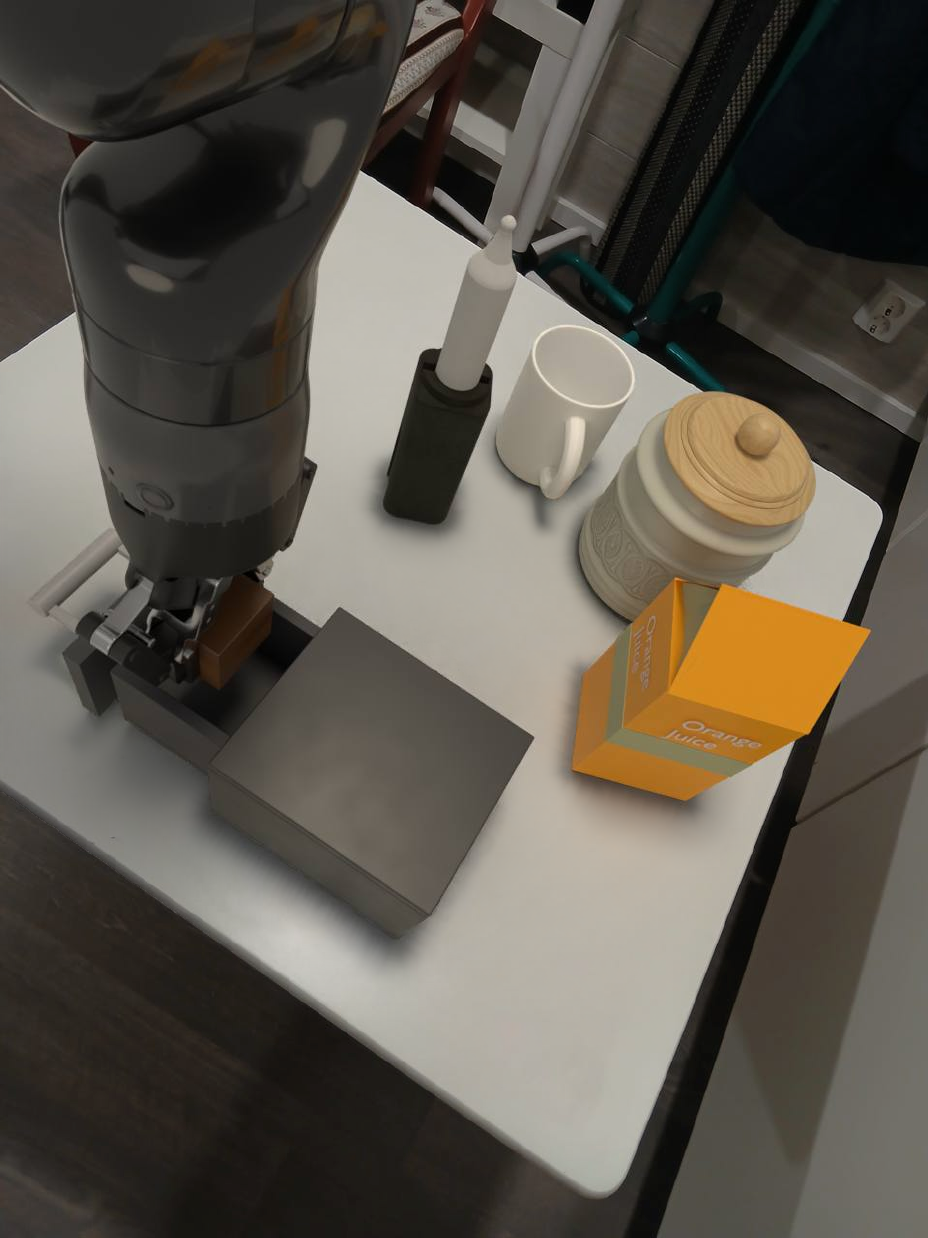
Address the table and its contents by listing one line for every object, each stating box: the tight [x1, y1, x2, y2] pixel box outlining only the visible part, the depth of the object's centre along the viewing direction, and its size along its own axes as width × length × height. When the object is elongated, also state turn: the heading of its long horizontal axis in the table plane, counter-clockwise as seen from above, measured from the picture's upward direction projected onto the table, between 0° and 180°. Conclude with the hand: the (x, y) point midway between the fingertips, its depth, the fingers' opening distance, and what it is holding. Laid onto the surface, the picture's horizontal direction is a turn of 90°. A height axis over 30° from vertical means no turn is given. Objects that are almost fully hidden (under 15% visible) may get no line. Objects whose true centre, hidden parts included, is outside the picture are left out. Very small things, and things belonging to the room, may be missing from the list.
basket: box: [26, 527, 322, 778], centre depth 49 cm, size 17×10×8 cm, turn 59°
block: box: [197, 573, 275, 690], centre depth 43 cm, size 4×4×4 cm
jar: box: [578, 390, 817, 623], centre depth 60 cm, size 13×13×18 cm
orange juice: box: [571, 578, 872, 802], centre depth 51 cm, size 8×9×20 cm
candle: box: [382, 214, 518, 525], centre depth 54 cm, size 5×5×25 cm
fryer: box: [208, 606, 535, 940], centre depth 48 cm, size 14×12×10 cm
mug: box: [495, 324, 636, 500], centre depth 64 cm, size 12×8×10 cm
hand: (211, 635), depth 45 cm, fingers closed on block, 4 cm apart
